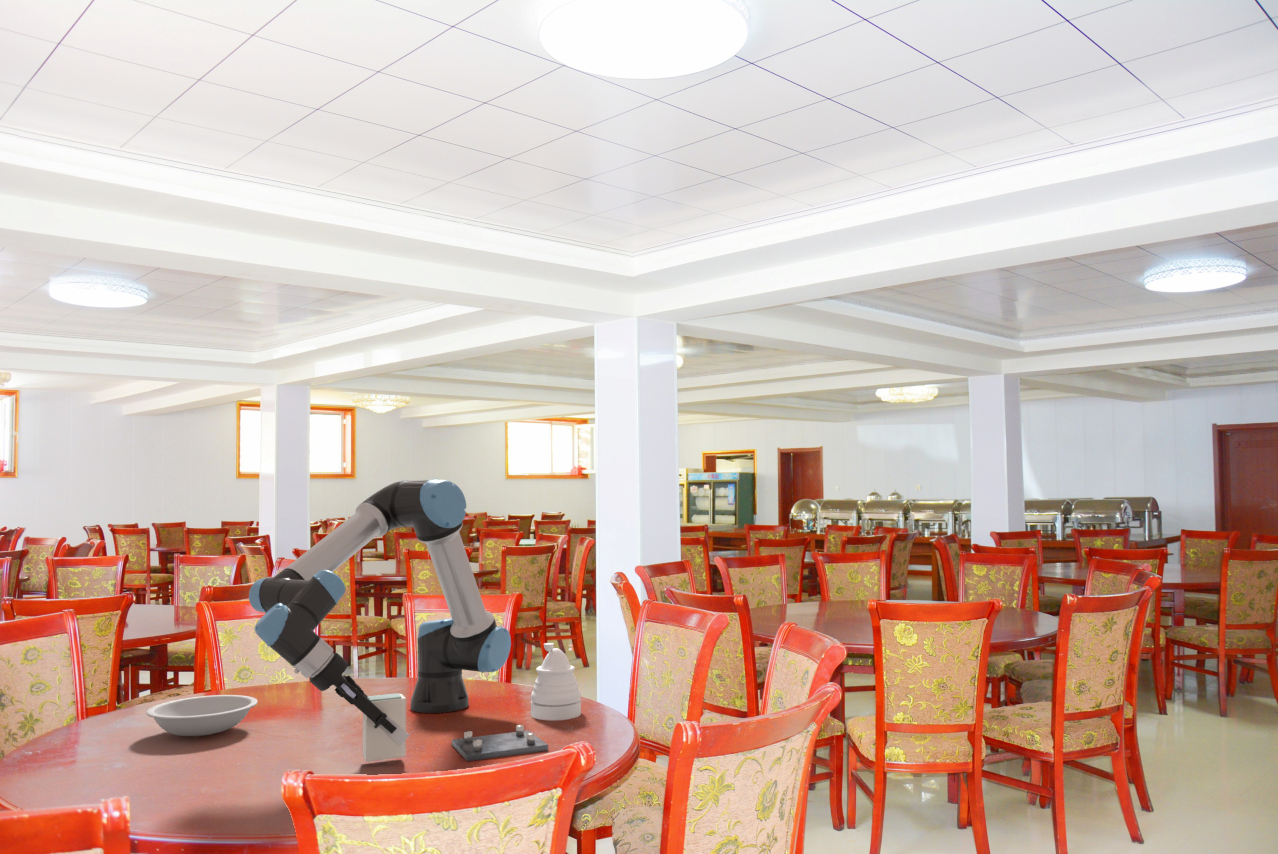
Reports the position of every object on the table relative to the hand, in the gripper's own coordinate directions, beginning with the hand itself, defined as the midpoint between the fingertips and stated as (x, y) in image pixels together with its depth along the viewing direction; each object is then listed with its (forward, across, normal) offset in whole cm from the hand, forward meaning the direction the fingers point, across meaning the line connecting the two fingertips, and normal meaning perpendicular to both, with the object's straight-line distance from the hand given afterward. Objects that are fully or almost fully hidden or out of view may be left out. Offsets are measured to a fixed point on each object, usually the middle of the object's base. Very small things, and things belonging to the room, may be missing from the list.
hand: (402, 736), depth 189 cm
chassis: (+19, 0, +12) cm, 22 cm away
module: (0, 0, -5) cm, 5 cm away
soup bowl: (-24, -45, -31) cm, 60 cm away
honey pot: (+35, -24, +27) cm, 50 cm away
